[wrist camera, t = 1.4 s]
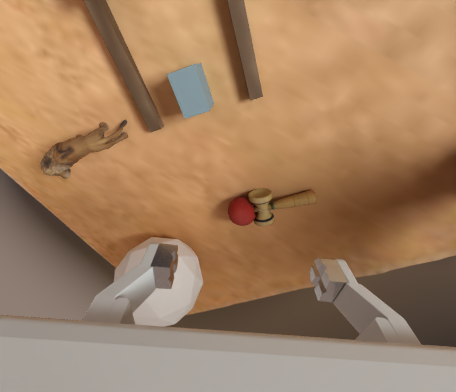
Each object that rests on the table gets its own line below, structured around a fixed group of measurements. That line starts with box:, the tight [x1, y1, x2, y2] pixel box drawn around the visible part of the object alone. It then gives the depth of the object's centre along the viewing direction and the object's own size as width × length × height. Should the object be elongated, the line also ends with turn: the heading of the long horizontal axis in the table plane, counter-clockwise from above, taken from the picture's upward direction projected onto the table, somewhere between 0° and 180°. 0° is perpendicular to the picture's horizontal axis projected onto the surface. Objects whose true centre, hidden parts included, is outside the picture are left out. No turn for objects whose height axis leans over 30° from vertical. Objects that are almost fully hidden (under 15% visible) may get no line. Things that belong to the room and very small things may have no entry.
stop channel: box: [84, 0, 263, 132], centre depth 29 cm, size 20×21×4 cm
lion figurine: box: [41, 120, 128, 179], centre depth 36 cm, size 15×5×9 cm, turn 119°
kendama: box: [228, 188, 317, 226], centre depth 44 cm, size 8×6×18 cm
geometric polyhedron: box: [114, 237, 203, 327], centre depth 48 cm, size 19×20×20 cm
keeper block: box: [167, 63, 214, 119], centre depth 32 cm, size 4×6×6 cm, turn 17°
